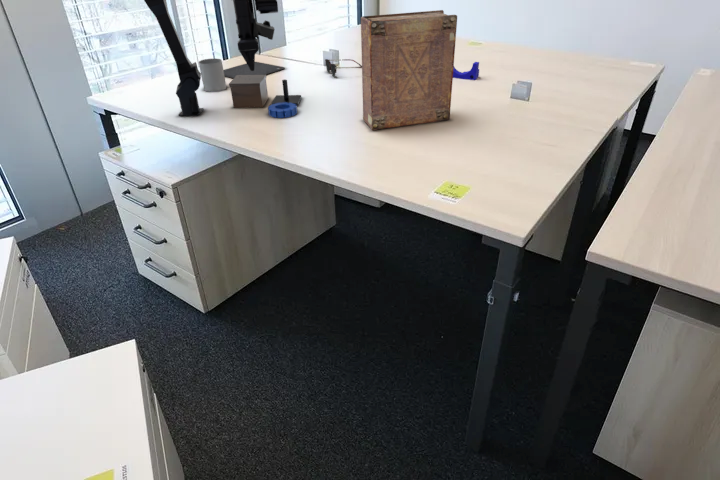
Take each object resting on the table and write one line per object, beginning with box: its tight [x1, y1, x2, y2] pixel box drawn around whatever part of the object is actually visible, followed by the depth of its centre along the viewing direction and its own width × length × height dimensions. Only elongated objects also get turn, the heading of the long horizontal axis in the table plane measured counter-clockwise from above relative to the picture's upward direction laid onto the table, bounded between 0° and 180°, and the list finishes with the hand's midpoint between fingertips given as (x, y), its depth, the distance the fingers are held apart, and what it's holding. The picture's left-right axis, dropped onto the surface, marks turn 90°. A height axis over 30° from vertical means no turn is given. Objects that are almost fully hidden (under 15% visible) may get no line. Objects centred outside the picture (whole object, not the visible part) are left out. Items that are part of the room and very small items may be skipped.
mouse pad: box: [223, 61, 286, 79], centre depth 202 cm, size 23×20×1 cm
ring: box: [267, 102, 298, 119], centre depth 157 cm, size 9×9×2 cm
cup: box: [198, 58, 227, 93], centre depth 180 cm, size 8×8×10 cm
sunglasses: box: [324, 58, 362, 78], centre depth 196 cm, size 14×16×5 cm
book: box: [360, 9, 458, 131], centre depth 141 cm, size 25×9×30 cm, turn 107°
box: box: [228, 75, 269, 109], centre depth 165 cm, size 10×10×8 cm
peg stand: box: [270, 79, 302, 108], centre depth 165 cm, size 9×9×8 cm
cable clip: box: [453, 61, 480, 81], centre depth 186 cm, size 12×4×6 cm, turn 62°
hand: (252, 67), depth 157 cm, fingers open, 9 cm apart
